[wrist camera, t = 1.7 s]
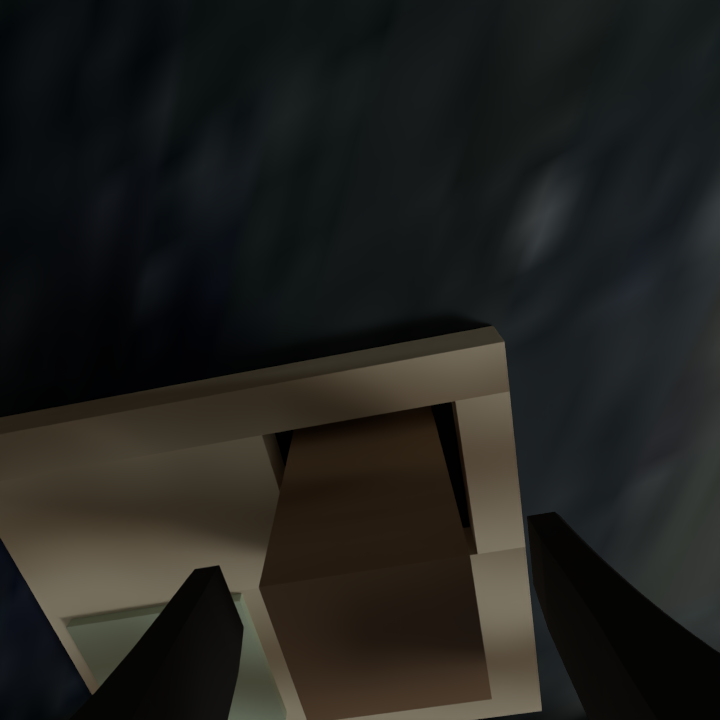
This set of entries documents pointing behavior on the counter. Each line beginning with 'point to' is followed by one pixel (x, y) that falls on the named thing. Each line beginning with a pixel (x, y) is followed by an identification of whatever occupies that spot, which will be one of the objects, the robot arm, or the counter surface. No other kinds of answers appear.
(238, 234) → the counter surface
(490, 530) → the board
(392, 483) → the peg
